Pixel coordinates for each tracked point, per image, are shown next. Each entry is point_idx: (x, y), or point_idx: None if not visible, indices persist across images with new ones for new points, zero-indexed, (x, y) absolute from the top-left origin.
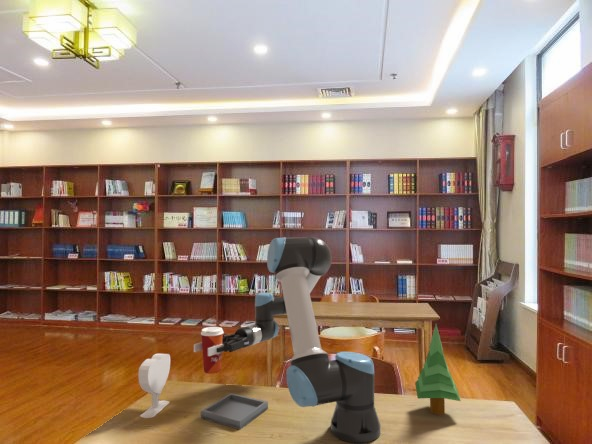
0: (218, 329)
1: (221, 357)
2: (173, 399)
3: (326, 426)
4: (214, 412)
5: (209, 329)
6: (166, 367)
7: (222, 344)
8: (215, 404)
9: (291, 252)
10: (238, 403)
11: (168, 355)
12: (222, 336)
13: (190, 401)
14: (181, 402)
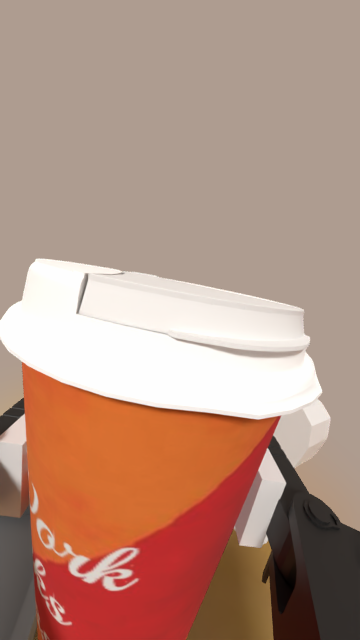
0: (90, 267)
1: (35, 600)
2: (260, 573)
3: None
4: (25, 549)
5: (187, 284)
6: (273, 435)
7: (7, 431)
8: (32, 578)
9: None
10: None
11: (300, 413)
12: (24, 386)
13: (199, 612)
14: (216, 571)
